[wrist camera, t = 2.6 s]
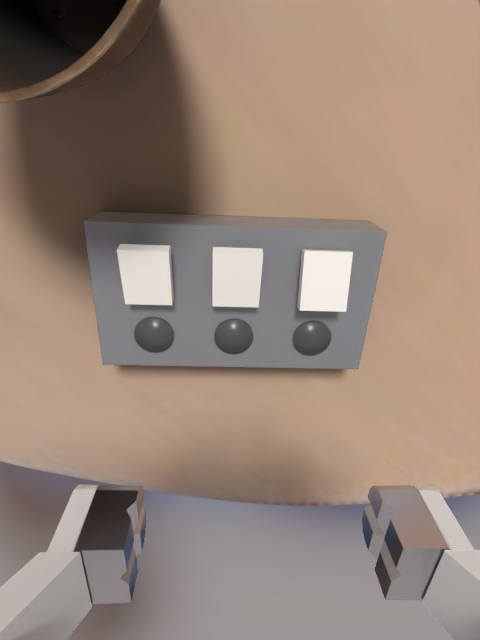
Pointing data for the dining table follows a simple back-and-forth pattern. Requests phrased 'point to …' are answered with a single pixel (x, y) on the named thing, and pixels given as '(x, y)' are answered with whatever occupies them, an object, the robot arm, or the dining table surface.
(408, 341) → the dining table surface
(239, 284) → the rocker
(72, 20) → the plant pot
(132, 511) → the robot arm
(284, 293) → the switch panel
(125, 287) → the rocker
